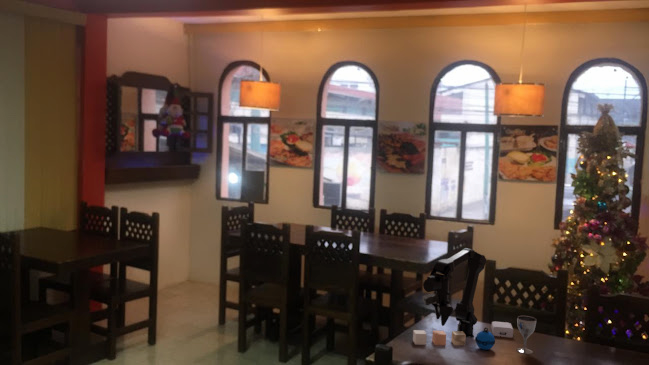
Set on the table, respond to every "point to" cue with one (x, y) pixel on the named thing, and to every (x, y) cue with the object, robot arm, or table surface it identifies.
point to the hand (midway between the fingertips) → (440, 322)
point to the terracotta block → (439, 338)
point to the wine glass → (525, 331)
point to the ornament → (485, 339)
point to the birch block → (458, 338)
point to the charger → (502, 329)
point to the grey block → (419, 337)
